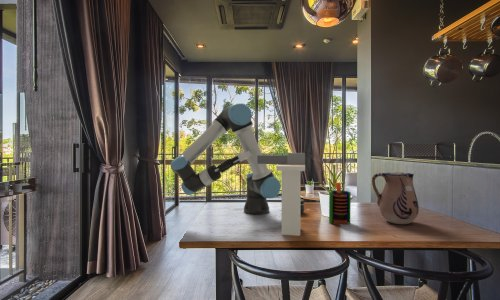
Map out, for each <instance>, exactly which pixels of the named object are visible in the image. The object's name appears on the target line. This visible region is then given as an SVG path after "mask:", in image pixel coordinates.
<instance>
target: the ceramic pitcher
mask: <svg viewBox="0 0 500 300" xmlns="http://www.w3.org/2000/svg"><path fill="white" fill-rule="evenodd" d="M378 177H382V178H383V179H384V180H385V184H384V188H383V190H382V191H381V193H380V192H379V190H378V188H377V186H376V179H377V178H378ZM413 179H414V173H411V172H410V173H409V172H407V173H405V172H399V171H397V172H377V173H375V174H373V176H372V178H371V186H372V188H373V190H374V193H375V195H376V197H377V202H376V203H377V206H378V207H379V212H380V214H381V216H382V217H383V218H384V220H386V221H387V222H388V223H392V224H396V225H408V224H411V223H412V222H414V221H415V220H416V219H417V217H418V214H419V213H420V212H419V207H420V206H419V202H418V198H417V194H416V190H415V187H414V182H413V181H414V180H413Z"/></svg>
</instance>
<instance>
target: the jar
mask: <svg viewBox="0 0 500 300" xmlns="http://www.w3.org/2000/svg"><path fill="white" fill-rule="evenodd" d="M304 212H305V199H302V198H301V215H303V214H304Z"/></svg>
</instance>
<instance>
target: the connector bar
mask: <svg viewBox="0 0 500 300" xmlns="http://www.w3.org/2000/svg"><path fill="white" fill-rule="evenodd" d="M257 164H266V165H278V164H305V165H306V153H305V152H287V153H286V154H281V155H280V154H262V155H257Z"/></svg>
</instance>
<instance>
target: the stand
mask: <svg viewBox="0 0 500 300" xmlns="http://www.w3.org/2000/svg"><path fill="white" fill-rule="evenodd" d="M275 168H276V171H277V172H281V236H299V237H300V236H301V230H302V229H301V226H302V225H301V222H302V221H301V218H302V216H301V215H302V214H301V199H302V198H301V191H302V190H301V186H302V183H301V182H302V181H301V172H305V171H306V163H305V164H276V167H275Z"/></svg>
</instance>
